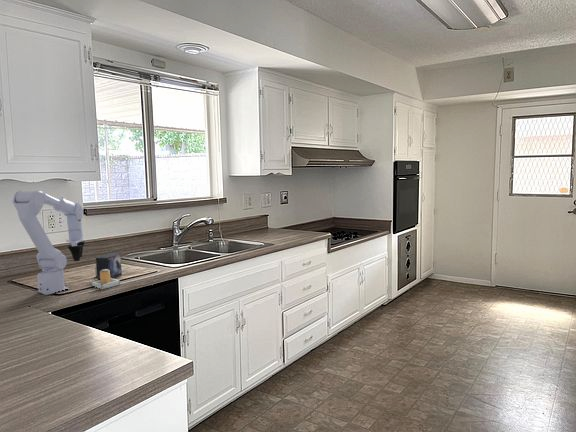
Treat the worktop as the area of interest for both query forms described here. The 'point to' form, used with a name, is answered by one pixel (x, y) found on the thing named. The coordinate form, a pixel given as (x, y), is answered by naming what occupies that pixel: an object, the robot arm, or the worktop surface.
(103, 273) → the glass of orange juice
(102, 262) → the small box
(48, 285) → the robot arm
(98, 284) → the tray
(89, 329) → the worktop surface
